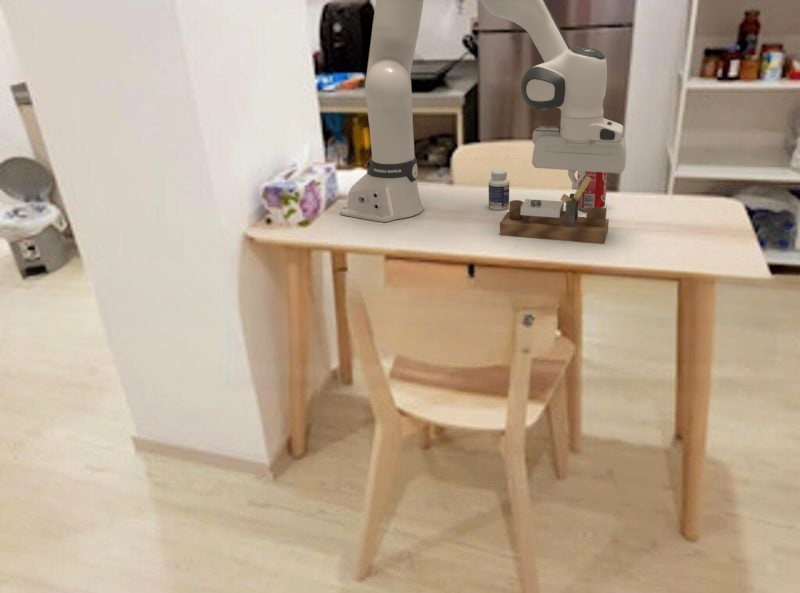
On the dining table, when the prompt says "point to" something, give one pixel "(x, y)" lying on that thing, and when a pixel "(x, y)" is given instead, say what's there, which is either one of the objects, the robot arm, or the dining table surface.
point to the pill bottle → (498, 190)
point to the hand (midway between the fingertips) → (575, 188)
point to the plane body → (557, 224)
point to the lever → (578, 192)
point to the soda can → (593, 191)
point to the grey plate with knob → (542, 208)
